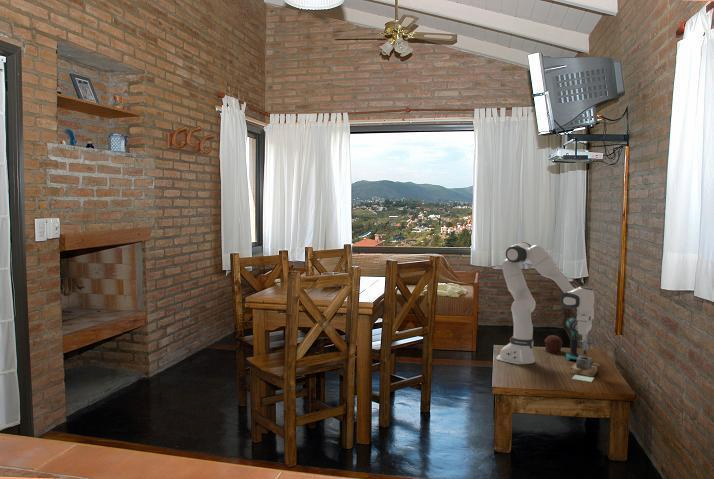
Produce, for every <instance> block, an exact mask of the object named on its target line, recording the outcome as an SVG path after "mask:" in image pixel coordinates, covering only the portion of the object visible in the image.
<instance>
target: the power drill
mask: <svg viewBox="0 0 714 479" xmlns="http://www.w3.org/2000/svg"><path fill="white" fill-rule="evenodd" d="M565 324H566V327H567V329H568V330H569V331H570V341H569V344H570V345H569V347H570V349H569V350H570V351H569V352H566V353H565V354H564V355H565V356H564V357H565V358H566V359H567V361H570V360H576V359H577V358H578V357H579V356H582V355H581V353H578V345H579V343H578V341H579V340H578V334H579V333H578V320H577V317H576V318H575V317H569V318H567V319H566V322H565Z"/></svg>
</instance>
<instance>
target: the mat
mask: <svg viewBox="0 0 714 479" xmlns="http://www.w3.org/2000/svg"><path fill="white" fill-rule="evenodd" d="M571 380H576V381H582V382H587V383H592V382H593V380H595V377H594V376H593V377H592V376H585V375H579V374H573V376H572V378H571Z"/></svg>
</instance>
